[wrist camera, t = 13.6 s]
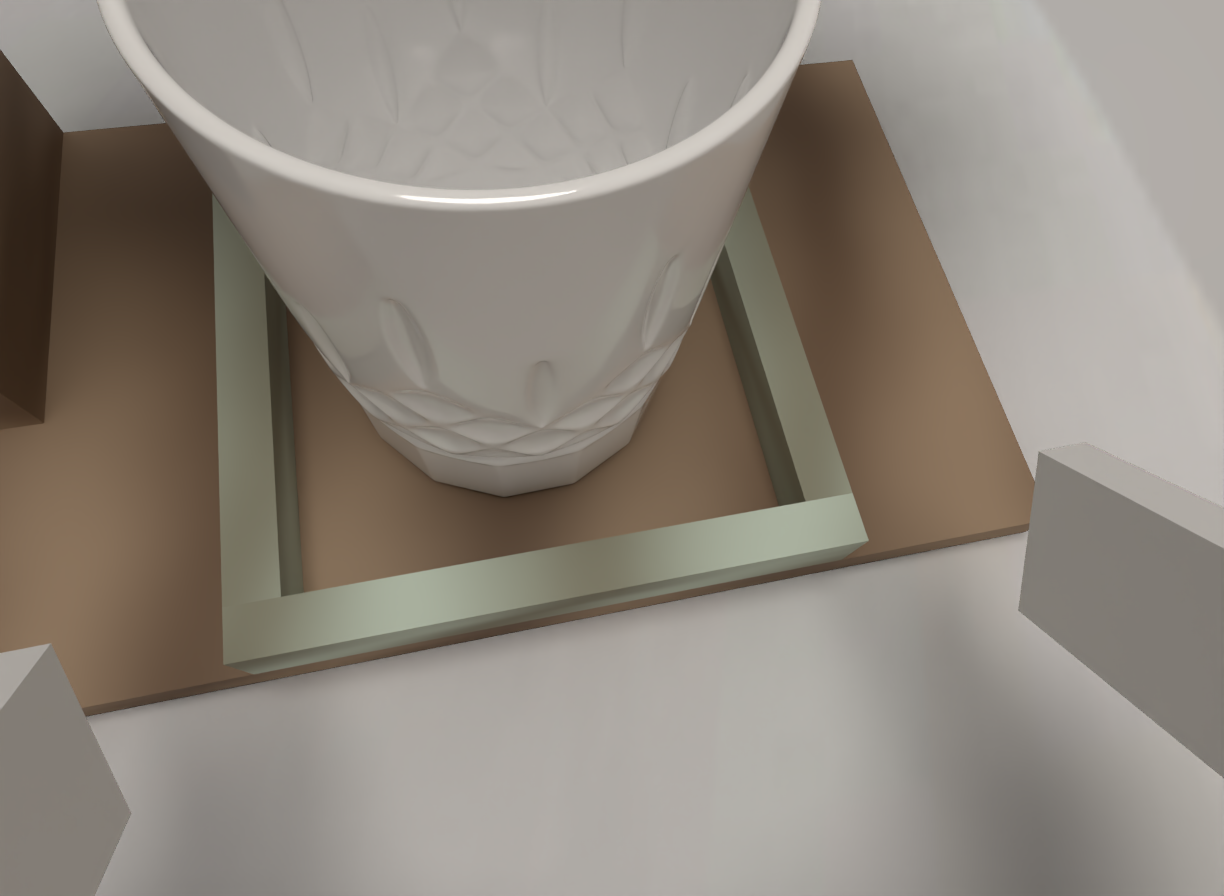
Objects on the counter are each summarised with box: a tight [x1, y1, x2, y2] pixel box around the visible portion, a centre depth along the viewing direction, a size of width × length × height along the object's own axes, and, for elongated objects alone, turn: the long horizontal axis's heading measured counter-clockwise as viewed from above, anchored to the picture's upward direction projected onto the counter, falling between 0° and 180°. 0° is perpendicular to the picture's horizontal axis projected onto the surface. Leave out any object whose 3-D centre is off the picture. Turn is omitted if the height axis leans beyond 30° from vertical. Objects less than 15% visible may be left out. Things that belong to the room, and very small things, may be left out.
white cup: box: [97, 0, 821, 497], centre depth 13 cm, size 8×8×10 cm
